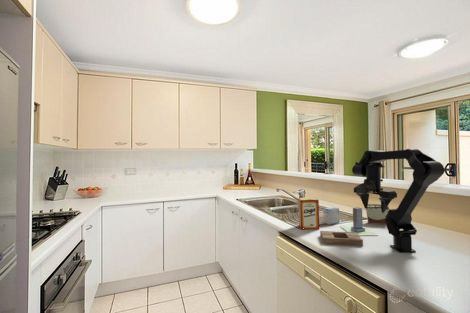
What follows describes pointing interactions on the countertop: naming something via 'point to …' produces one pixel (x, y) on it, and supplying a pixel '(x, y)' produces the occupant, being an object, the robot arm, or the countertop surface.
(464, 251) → the countertop surface
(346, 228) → the sage mat
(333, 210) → the medicine box
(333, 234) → the brown rectangular frame
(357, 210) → the lever cap
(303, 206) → the baking soda box
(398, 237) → the robot arm
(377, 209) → the food container
